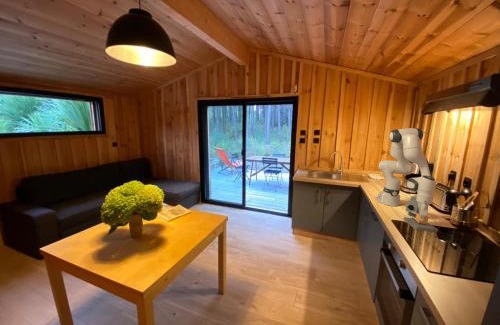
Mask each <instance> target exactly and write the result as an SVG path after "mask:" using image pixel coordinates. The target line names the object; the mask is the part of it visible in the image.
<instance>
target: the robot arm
mask: <svg viewBox="0 0 500 325" xmlns="http://www.w3.org/2000/svg"><path fill="white" fill-rule="evenodd" d="M423 137H424V132H423V130H422V129H421V128H418V127H414V128H411V127H408V128H399V129H392V130H391V131H390V132H389V135H388V138H389V141H390V142H391V145H390V150H389V155H390V157H392V158H393V159H395V160H390V159H384V160H380V161H379V162H378V166H377V168H378V170H379V171H380V172H381V173H382V174H383V175H384V182H385V183H384V186H383V189H382V191H380V192H378V194H377V196H376V197H375V200H376V201H377V203H379V204H383V205H386V206H390V207H399V206H400V205H402V203H401V195H400V193H401V192H400V187H401V183H402V182H401V180H400V179H399V178H398V177H397V176H395V175H396V174H398V175H411V174H412V173H413V172H414V169H415V168H414V167H415V166H414V165H413V164H412V163H414V164H415V165H417V167H418V168H419V171H420V175H421V176H418V177H410V178H408V179H407V180H406V181H405V182H406V184H405V186H406V188H407V190H409V191H411V192H417V193H416V195H417V198H416V201H418V209H419V214H420V221H423V219H424V217H426V216H428V212H429V206H430V205H431V204H433V201H434V193H435V190H436V184H437V182H436V178H434V177H433V175H432V170H431V166H430V164H429V161H428V158H427V157H426V156H425V154H424V153H423V152H424V151H423V148H422V142H421V140H422V139H423ZM394 174H395V175H394Z"/></svg>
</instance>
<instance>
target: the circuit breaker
mask: <svg viewBox="0 0 500 325" xmlns="http://www.w3.org/2000/svg"><path fill="white" fill-rule="evenodd" d="M416 198H417V194H416V195H411V196H410V200H407V201H406V204H405V211H406V212H407V215H409V216H412V217H413V218H416V215H417V213H419V209H418V201H416Z"/></svg>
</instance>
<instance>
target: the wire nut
mask: <svg viewBox="0 0 500 325" xmlns="http://www.w3.org/2000/svg"><path fill="white" fill-rule="evenodd" d="M429 217H430V216H428V215H427V216H426V217H424V219H423V221H420V214H419V213H417V215H416V217H415V218H416V219H415V220H416V221H417V222H418V223H423V224H427V223H429V222H428V221H429Z"/></svg>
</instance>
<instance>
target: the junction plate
mask: <svg viewBox="0 0 500 325" xmlns="http://www.w3.org/2000/svg"><path fill="white" fill-rule="evenodd" d="M402 219H403V221H404V222H405V223H407V224H408V225H409V224H410V225H409V226H411V227H412V228H413V229H414V230H416V231H421V232H422V231H423V232H435V233H438V231H439V229H438V228H437V227H435V226H434V225H433V224H431V223H430V222H428V223H427V224H423V223H418V222H417V221H416V220H415V219H416V217H403V218H402Z"/></svg>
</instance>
